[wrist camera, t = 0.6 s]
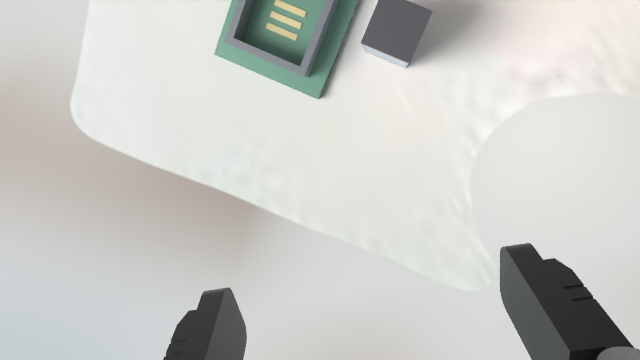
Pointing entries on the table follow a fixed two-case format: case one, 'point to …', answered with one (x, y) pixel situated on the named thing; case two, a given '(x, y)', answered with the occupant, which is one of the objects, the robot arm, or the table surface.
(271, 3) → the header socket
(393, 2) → the block
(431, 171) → the table surface
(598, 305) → the robot arm
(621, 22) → the table surface
